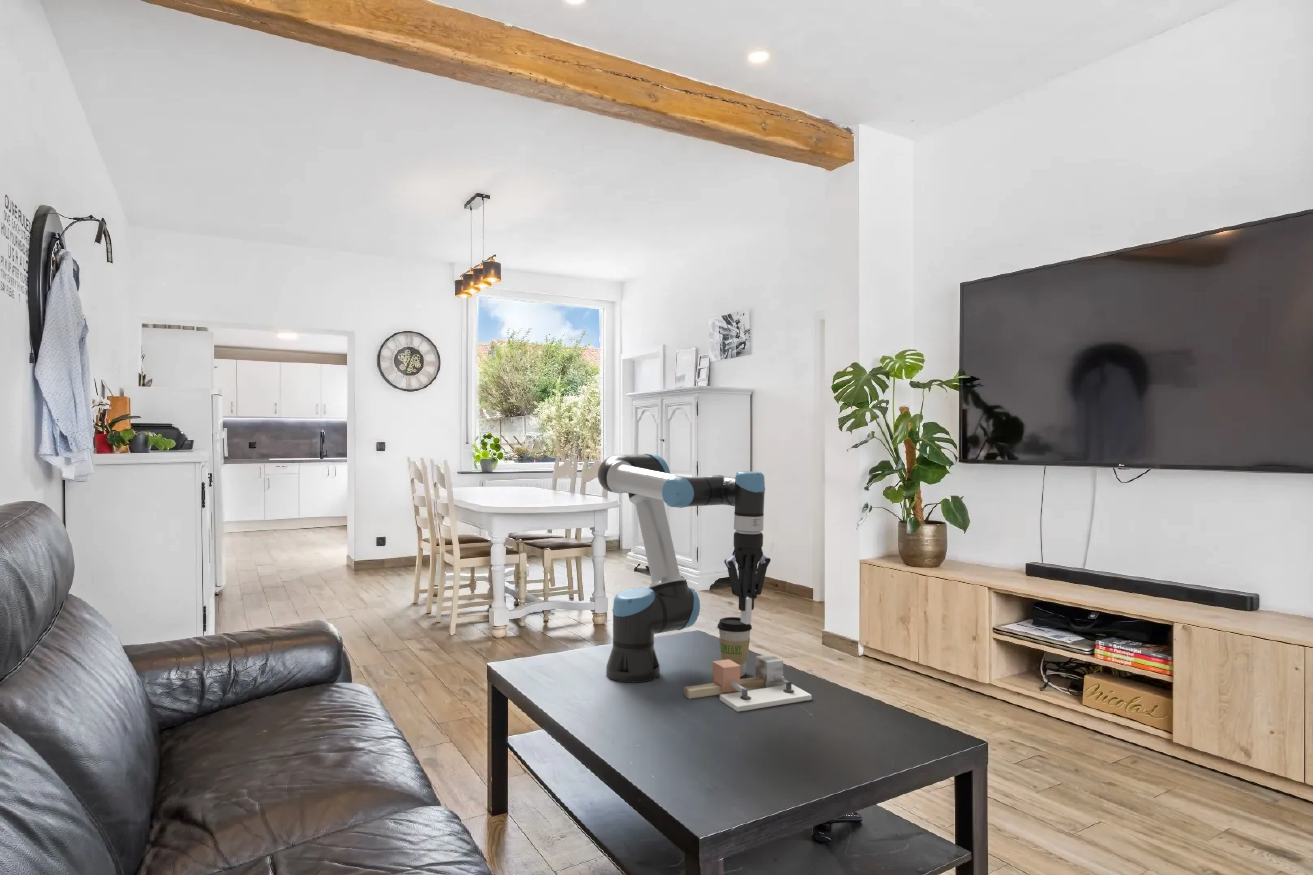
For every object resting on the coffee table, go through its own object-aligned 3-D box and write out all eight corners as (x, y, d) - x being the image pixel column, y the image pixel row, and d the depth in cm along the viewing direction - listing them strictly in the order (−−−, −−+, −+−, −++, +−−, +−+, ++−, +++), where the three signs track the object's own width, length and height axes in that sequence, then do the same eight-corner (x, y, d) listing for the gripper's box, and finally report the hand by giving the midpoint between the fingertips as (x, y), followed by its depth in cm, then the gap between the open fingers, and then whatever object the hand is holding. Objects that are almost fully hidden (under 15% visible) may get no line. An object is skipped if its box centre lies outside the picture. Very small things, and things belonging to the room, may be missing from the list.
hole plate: (719, 699, 192) (719, 694, 192) (791, 688, 201) (791, 683, 201) (737, 711, 184) (737, 706, 184) (811, 699, 193) (811, 694, 193)
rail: (681, 692, 196) (681, 665, 196) (775, 679, 208) (775, 653, 208) (704, 710, 184) (705, 681, 184) (802, 694, 196) (803, 667, 196)
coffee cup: (710, 670, 215) (711, 618, 215) (739, 666, 220) (740, 615, 219) (727, 680, 207) (728, 626, 206) (758, 676, 211) (758, 623, 211)
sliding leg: (712, 685, 200) (712, 661, 200) (728, 683, 202) (729, 659, 202) (737, 701, 188) (737, 676, 188) (754, 699, 190) (754, 673, 190)
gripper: (734, 534, 186) (731, 629, 187) (778, 532, 192) (775, 623, 192) (719, 530, 193) (716, 621, 193) (761, 528, 198) (758, 616, 199)
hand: (745, 622), depth 193 cm, fingers closed
